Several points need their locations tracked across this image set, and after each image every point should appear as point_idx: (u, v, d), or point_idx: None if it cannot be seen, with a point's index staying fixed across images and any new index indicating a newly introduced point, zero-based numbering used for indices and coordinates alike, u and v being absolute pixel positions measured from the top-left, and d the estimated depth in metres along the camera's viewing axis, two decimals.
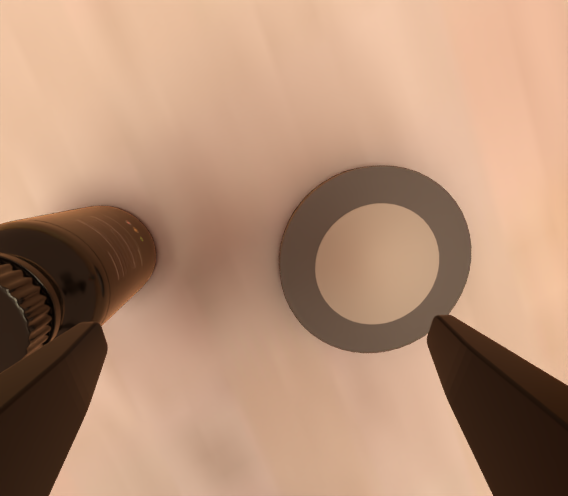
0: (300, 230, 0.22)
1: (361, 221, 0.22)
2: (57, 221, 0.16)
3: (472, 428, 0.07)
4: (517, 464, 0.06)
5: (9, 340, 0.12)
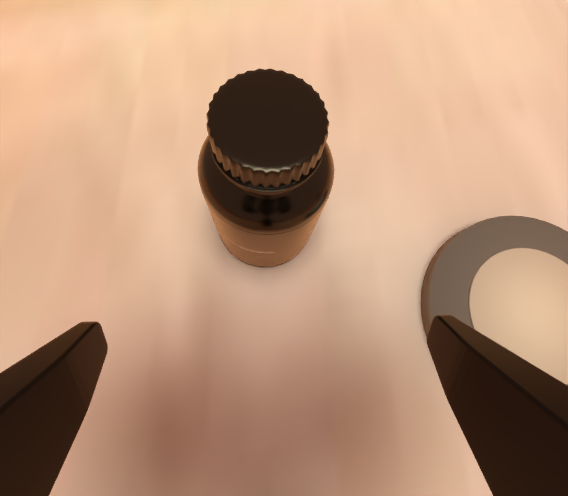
0: (458, 252, 0.22)
1: (520, 261, 0.22)
2: None
3: (472, 428, 0.07)
4: (517, 464, 0.06)
5: (303, 141, 0.12)
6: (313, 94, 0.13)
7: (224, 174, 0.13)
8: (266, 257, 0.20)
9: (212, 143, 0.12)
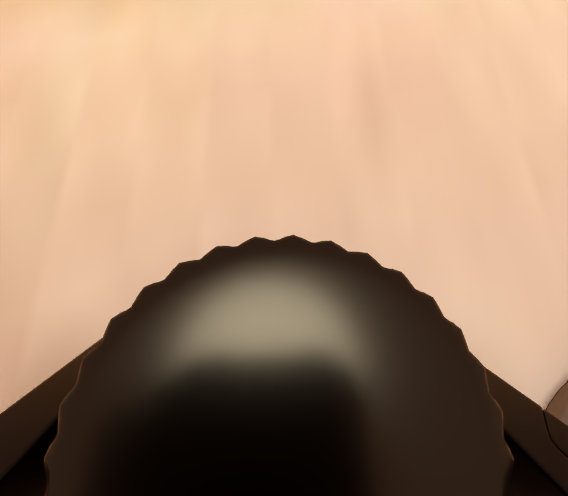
0: None
1: None
2: None
3: None
4: None
5: None
6: (445, 337, 0.04)
7: None
8: None
9: None
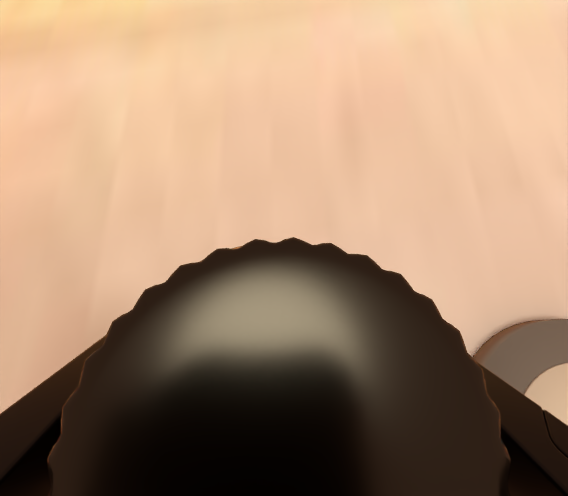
0: (501, 368, 0.18)
1: None
2: None
3: None
4: None
5: None
6: (444, 339, 0.04)
7: None
8: None
9: None
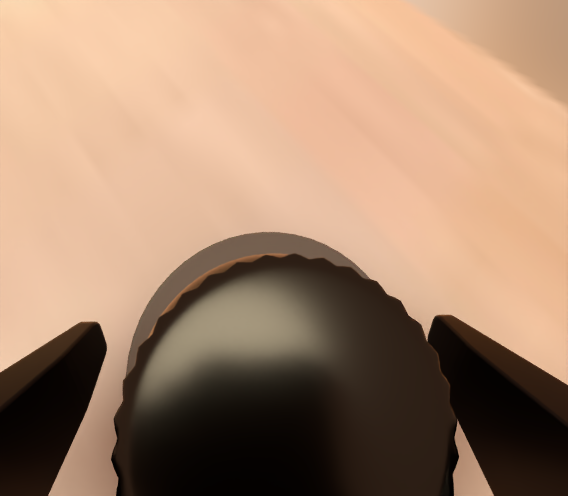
0: None
1: None
2: None
3: (473, 428, 0.07)
4: (518, 464, 0.06)
5: None
6: (409, 330, 0.05)
7: None
8: None
9: None
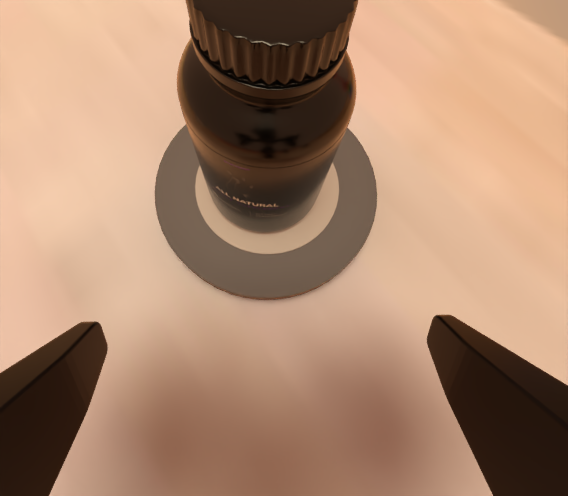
0: (172, 169, 0.20)
1: None
2: None
3: (472, 428, 0.07)
4: (517, 464, 0.06)
5: (324, 6, 0.08)
6: None
7: (210, 67, 0.09)
8: (267, 215, 0.16)
9: (191, 12, 0.08)
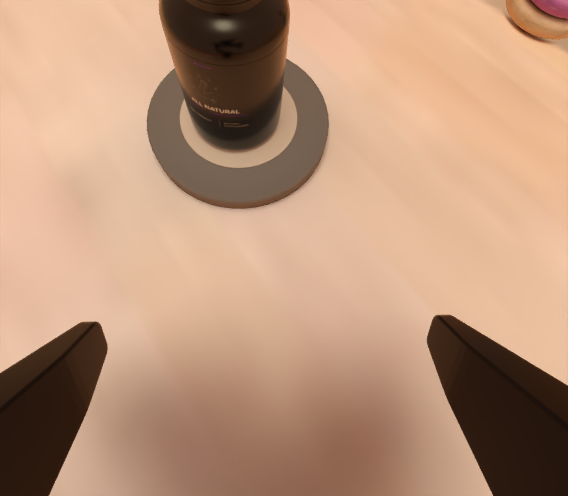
0: (161, 103, 0.25)
1: None
2: None
3: (472, 428, 0.07)
4: (517, 464, 0.06)
5: None
6: None
7: None
8: (233, 124, 0.20)
9: None
